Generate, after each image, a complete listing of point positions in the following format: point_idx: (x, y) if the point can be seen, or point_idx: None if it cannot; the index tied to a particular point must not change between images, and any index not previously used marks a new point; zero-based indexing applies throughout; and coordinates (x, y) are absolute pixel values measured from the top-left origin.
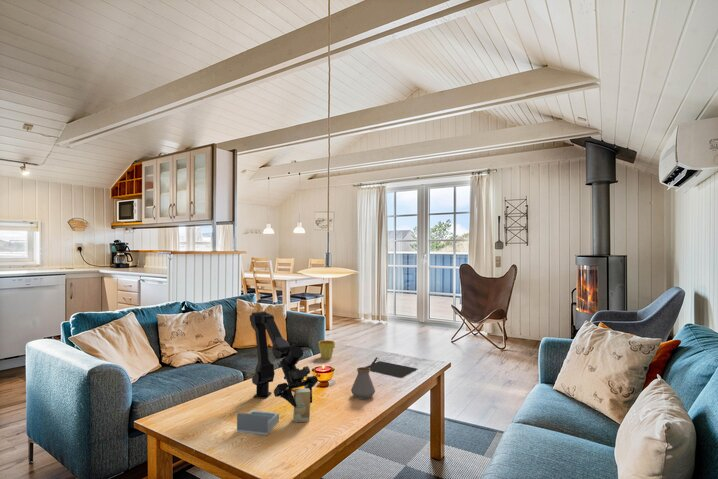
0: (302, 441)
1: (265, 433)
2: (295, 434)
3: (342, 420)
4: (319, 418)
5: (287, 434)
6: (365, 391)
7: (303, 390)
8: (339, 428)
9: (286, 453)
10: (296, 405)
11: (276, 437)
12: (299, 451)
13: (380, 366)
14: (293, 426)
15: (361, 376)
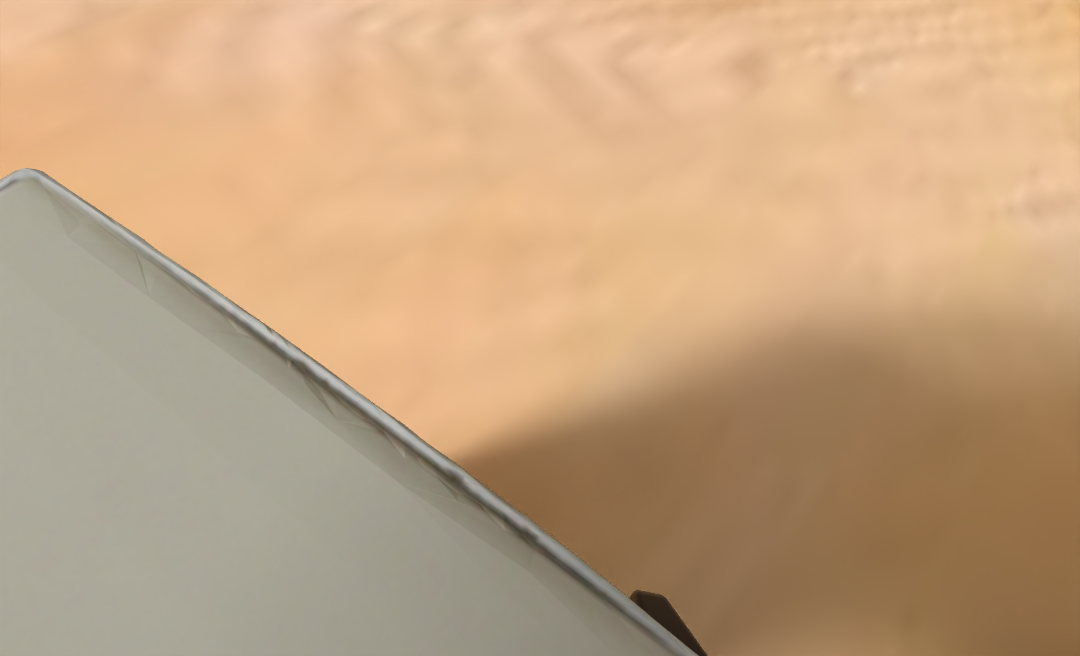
0: (811, 184)
1: None
2: (780, 356)
3: (51, 150)
4: None
5: (864, 439)
6: None
7: (91, 620)
8: (294, 67)
9: (1060, 152)
10: (639, 602)
11: (1027, 491)
12: (939, 91)
13: None
14: (654, 570)
15: None
